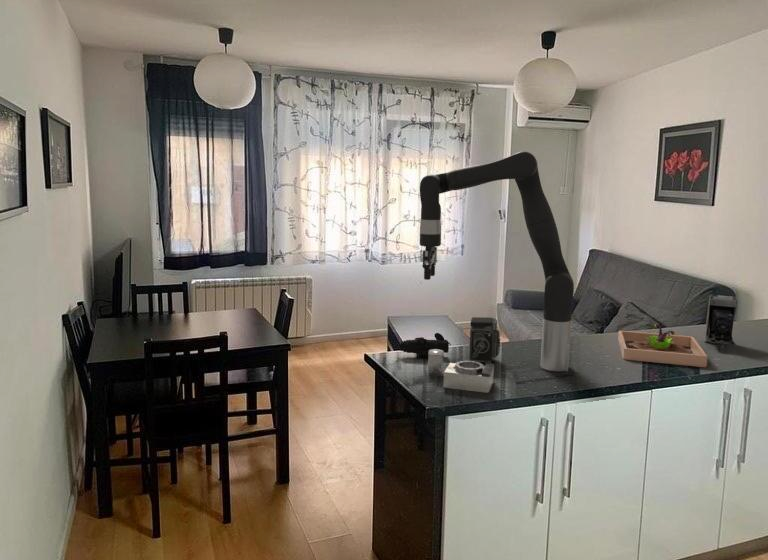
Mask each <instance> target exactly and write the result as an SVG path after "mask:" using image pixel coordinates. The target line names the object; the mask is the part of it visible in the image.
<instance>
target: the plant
mask: <svg viewBox="0 0 768 560" xmlns="http://www.w3.org/2000/svg"><path fill="white" fill-rule="evenodd" d="M653 328H654V329H657V328H658V329H659V331H658V334H659V337H657V336H655V335H653V337H651V336H650V338H651V339H652V340H650V339H649V338H646V339H648V340H649V341H637V342H628V346H627V348H631V349H642V350H653V351H664V352H674V353H685V354H693V351H692V350H691V349H690V350H689V349H687V348H685V347H683V346H678V345H676V344H673V343H674V342H671V343H670V341H671V340H672V338H671V335H676V333H675V331H674V330H668V331H665V332H663V328H662V327H661V325H660V324H659V323H654V325H653ZM670 333H671V334H670ZM666 335H668V336H667V338H666V339H665V336H666Z"/></svg>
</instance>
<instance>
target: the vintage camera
mask: <svg viewBox="0 0 768 560" xmlns="http://www.w3.org/2000/svg"><path fill="white" fill-rule="evenodd" d="M737 306H738V299H737V297H736V296H735V295H732V296H728V295H719V294H718V295H717V294H716V295H715V294H713V293H711V294H710V295H709V298H708V304H707V312H706V313H707V314H706V321H705V327H704V328H705V330H704V338H703V339H704V340H703V341H704V343H713V344H720V352H724V348H725V345H731V346H733V345H734V346H735V345H737V344H736V342H734V339H733V329H734V322H735V321H734V320H735V315H736V308H737Z"/></svg>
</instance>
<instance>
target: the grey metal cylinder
mask: <svg viewBox="0 0 768 560" xmlns="http://www.w3.org/2000/svg"><path fill="white" fill-rule="evenodd" d="M444 358H445V353H444V351H443V350H439V349H432V350H429V356H428V359H427V360H428V361H427V363H428V364H427V365H428V366H427V376H429V377H432V378H441V376H442V377H444V361H445V359H444Z"/></svg>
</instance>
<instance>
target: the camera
mask: <svg viewBox="0 0 768 560" xmlns="http://www.w3.org/2000/svg"><path fill="white" fill-rule="evenodd" d="M498 323H499V322H498V319H497V318H493V317H475V316H473V317H471V319H470V328H469V348H468V349H469V350H468V351H469V352H468V361H475V362H479V363H485V364H486V363H487V364H492V361H493V359H496V357H498V355H500V350H501V332H500V330H498Z"/></svg>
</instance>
